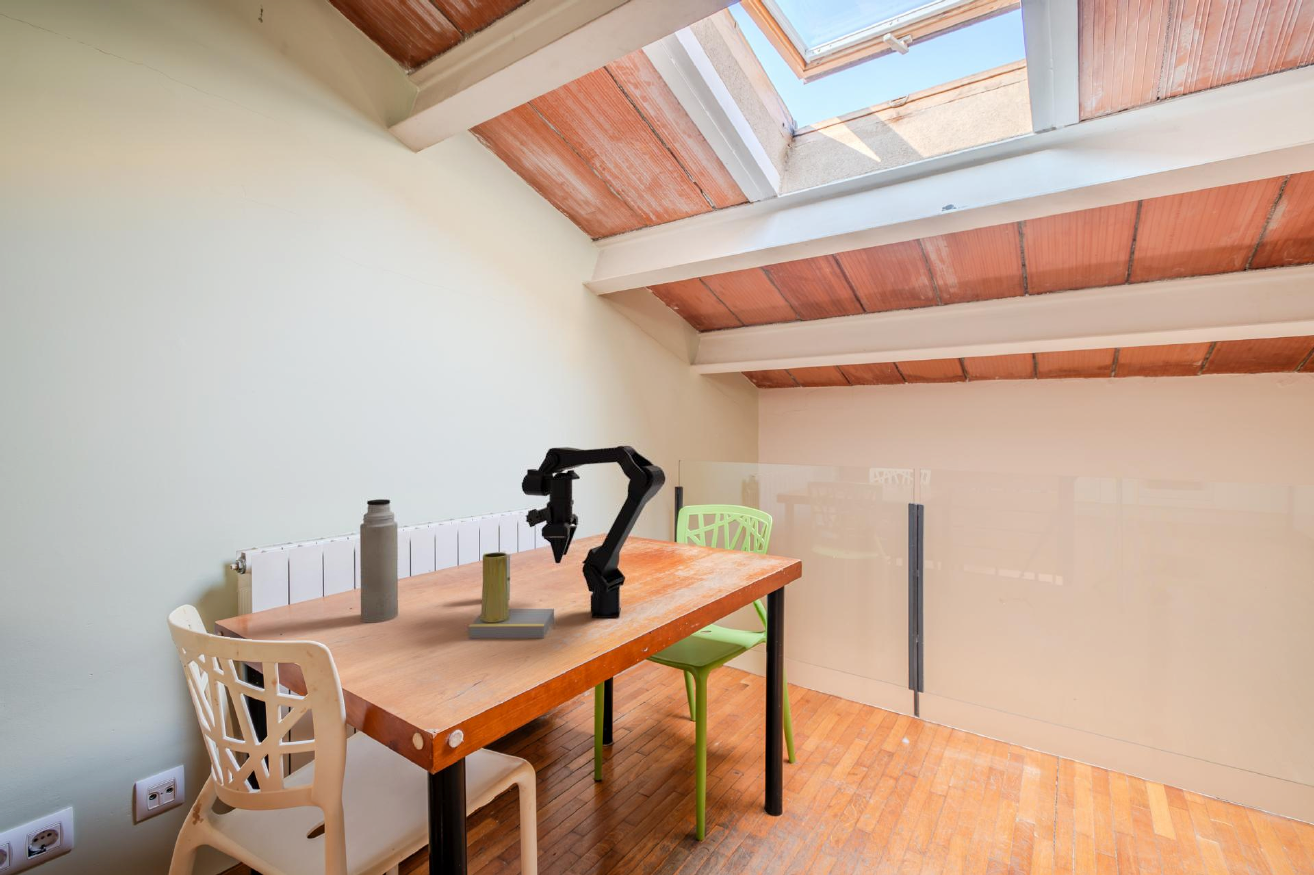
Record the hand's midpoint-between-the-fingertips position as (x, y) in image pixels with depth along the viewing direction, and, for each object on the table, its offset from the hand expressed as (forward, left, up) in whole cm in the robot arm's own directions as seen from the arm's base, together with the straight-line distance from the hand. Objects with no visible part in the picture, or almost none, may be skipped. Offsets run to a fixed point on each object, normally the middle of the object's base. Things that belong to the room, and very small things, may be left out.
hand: (561, 558), depth 142 cm
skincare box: (+18, -6, -12) cm, 23 cm away
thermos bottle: (+42, +8, -12) cm, 44 cm away
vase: (+12, +17, -10) cm, 23 cm away
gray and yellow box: (+8, +16, -12) cm, 21 cm away
